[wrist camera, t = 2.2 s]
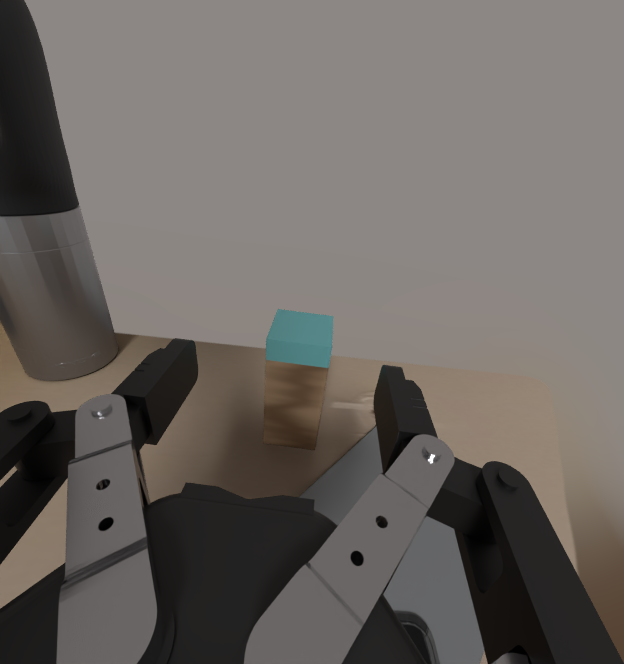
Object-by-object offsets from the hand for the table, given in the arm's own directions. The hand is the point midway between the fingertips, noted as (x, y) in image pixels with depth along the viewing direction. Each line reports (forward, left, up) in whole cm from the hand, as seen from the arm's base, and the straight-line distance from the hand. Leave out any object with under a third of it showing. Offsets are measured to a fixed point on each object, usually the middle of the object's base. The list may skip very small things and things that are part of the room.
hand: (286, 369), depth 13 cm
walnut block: (-7, +9, -16) cm, 20 cm away
